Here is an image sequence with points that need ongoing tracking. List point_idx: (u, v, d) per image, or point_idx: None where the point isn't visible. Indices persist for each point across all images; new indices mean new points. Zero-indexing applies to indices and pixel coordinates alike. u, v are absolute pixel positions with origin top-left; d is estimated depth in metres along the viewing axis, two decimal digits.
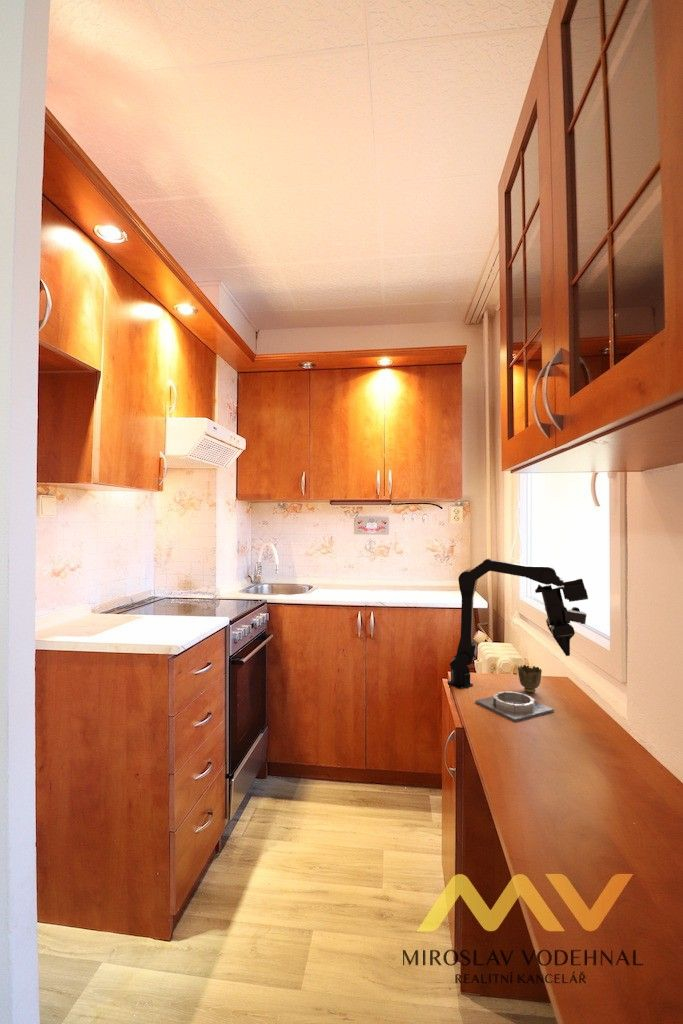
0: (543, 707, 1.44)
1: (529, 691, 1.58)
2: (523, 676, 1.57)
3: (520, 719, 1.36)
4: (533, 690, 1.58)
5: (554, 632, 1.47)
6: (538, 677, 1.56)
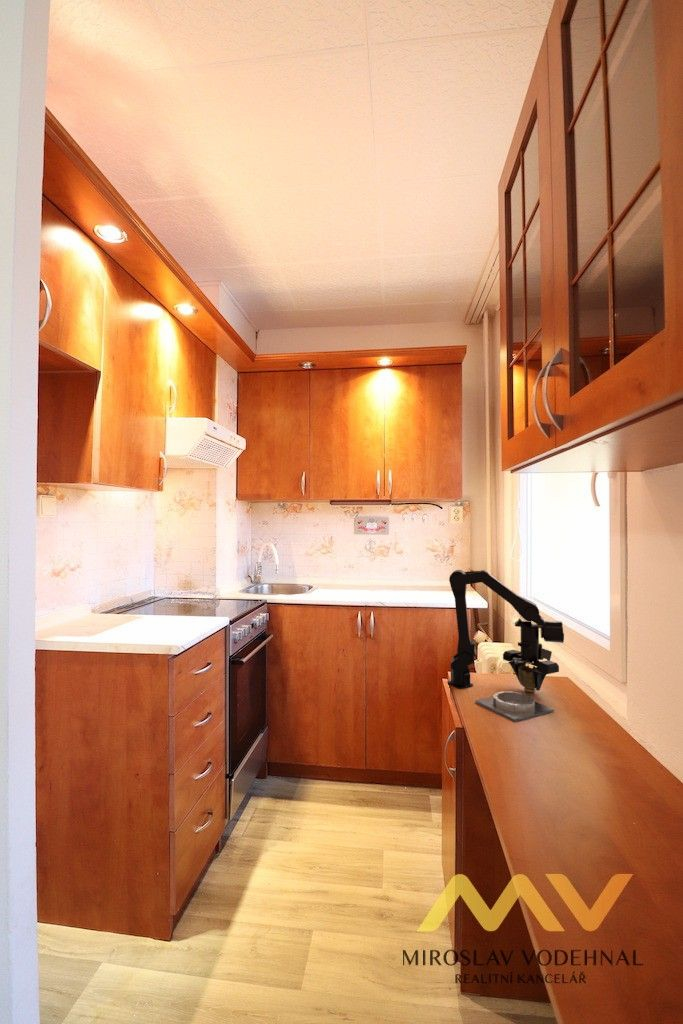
0: (543, 707, 1.44)
1: (529, 691, 1.58)
2: (523, 676, 1.57)
3: (520, 719, 1.36)
4: (533, 690, 1.58)
5: (547, 669, 1.50)
6: None
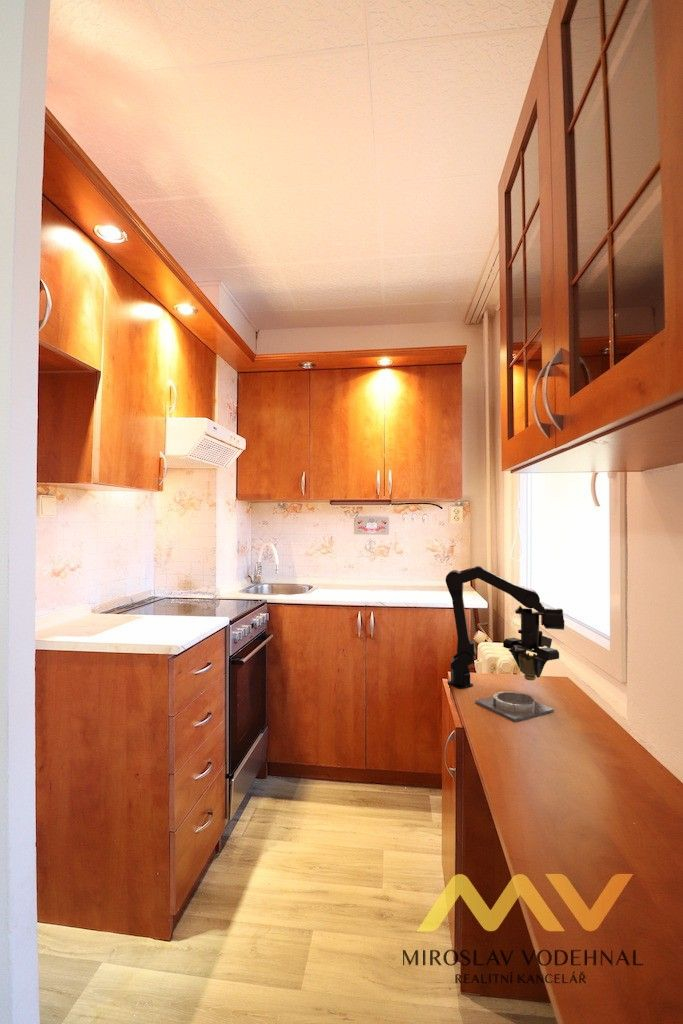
0: (543, 707, 1.44)
1: (529, 678, 1.58)
2: (523, 663, 1.57)
3: (520, 719, 1.36)
4: (533, 677, 1.58)
5: (547, 656, 1.50)
6: None
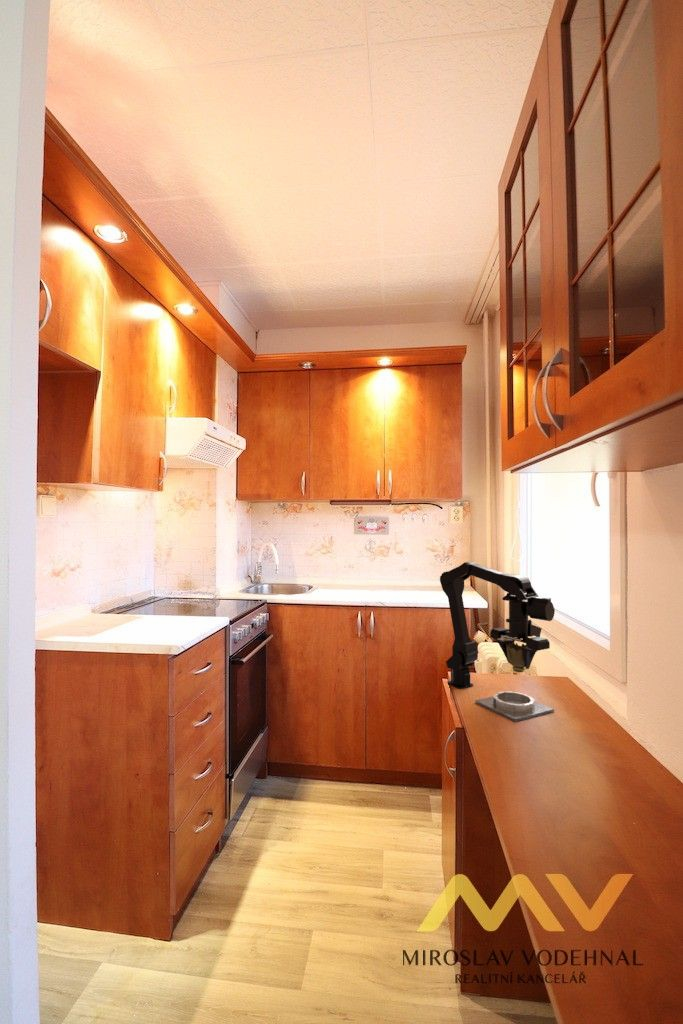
0: (543, 707, 1.44)
1: (518, 670, 1.48)
2: (512, 654, 1.48)
3: (520, 719, 1.36)
4: (522, 669, 1.48)
5: (537, 646, 1.41)
6: None
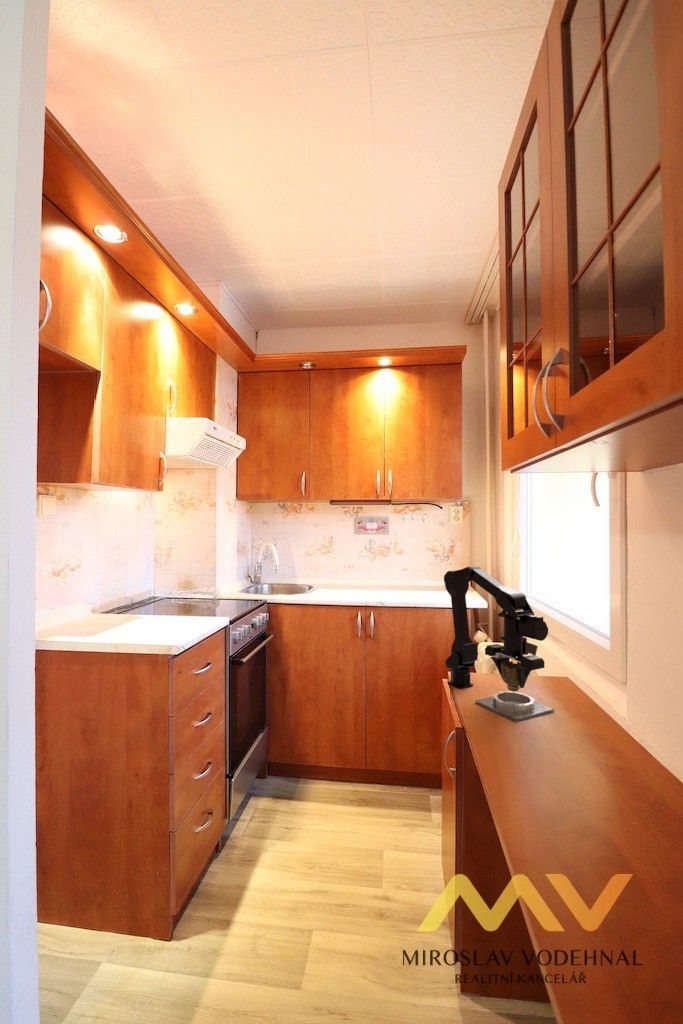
0: (543, 707, 1.44)
1: (512, 689, 1.45)
2: (506, 672, 1.44)
3: (520, 719, 1.36)
4: (517, 687, 1.45)
5: (531, 665, 1.37)
6: None
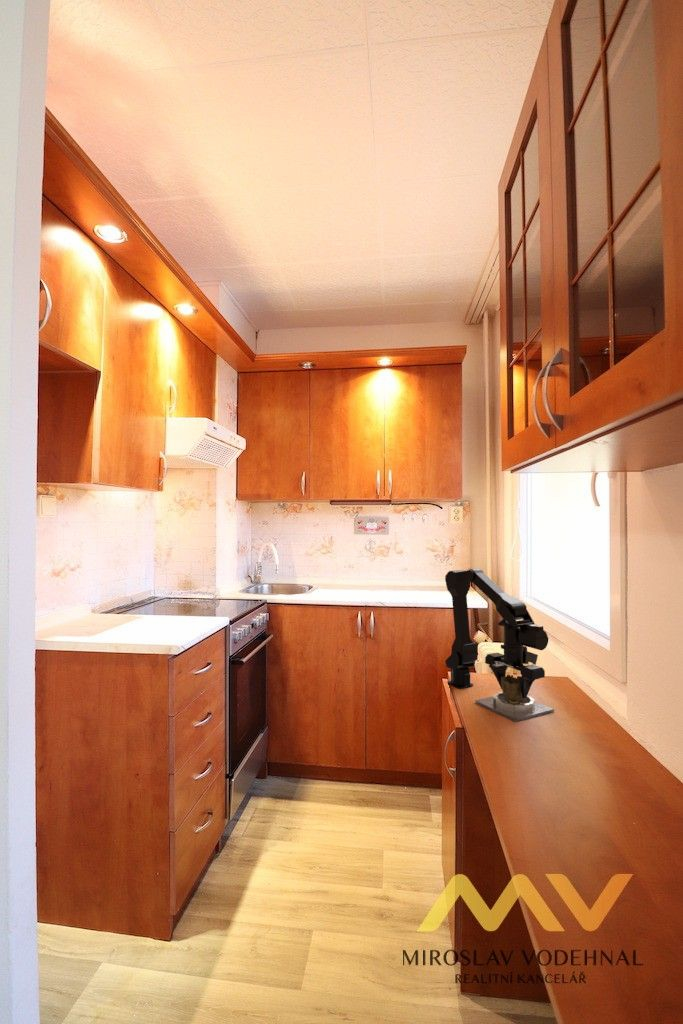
0: (543, 707, 1.44)
1: (513, 703, 1.45)
2: (506, 687, 1.44)
3: (520, 719, 1.36)
4: (517, 702, 1.45)
5: (532, 675, 1.37)
6: None
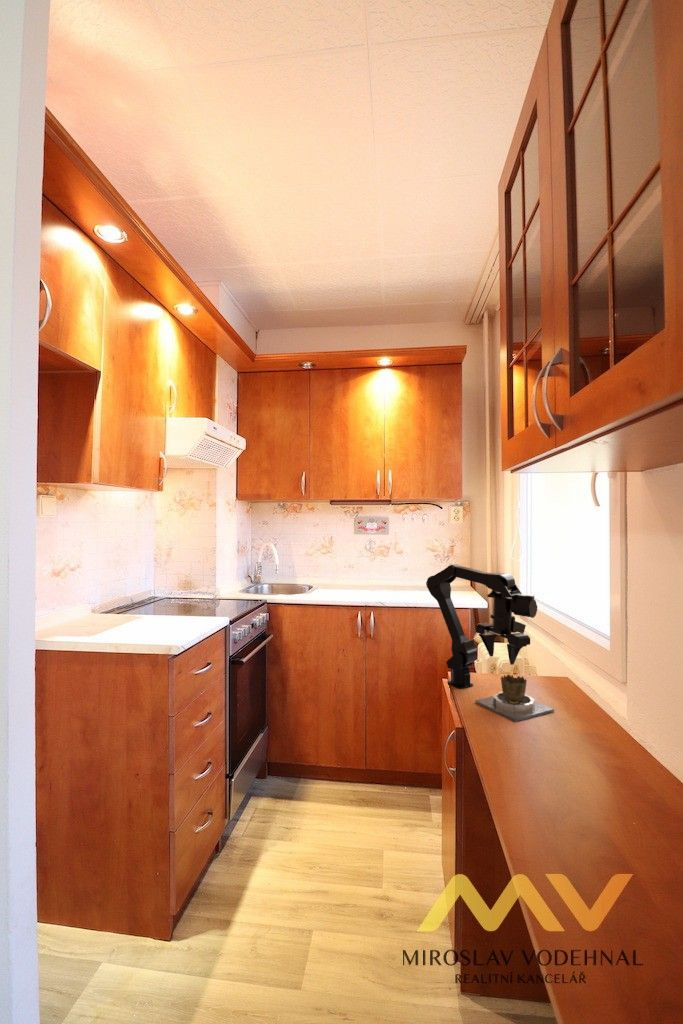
0: (543, 707, 1.44)
1: (513, 703, 1.45)
2: (506, 687, 1.44)
3: (520, 719, 1.36)
4: (517, 702, 1.45)
5: (517, 641, 1.46)
6: (522, 688, 1.43)
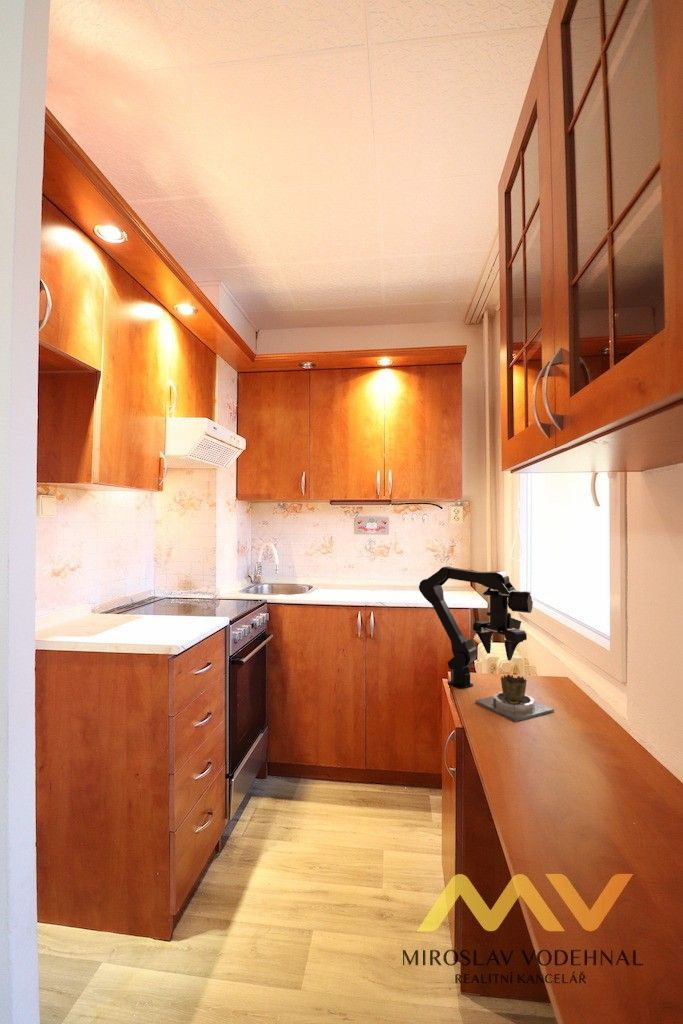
0: (543, 707, 1.44)
1: (513, 703, 1.45)
2: (506, 687, 1.44)
3: (520, 719, 1.36)
4: (517, 702, 1.45)
5: (514, 637, 1.49)
6: (522, 688, 1.43)
